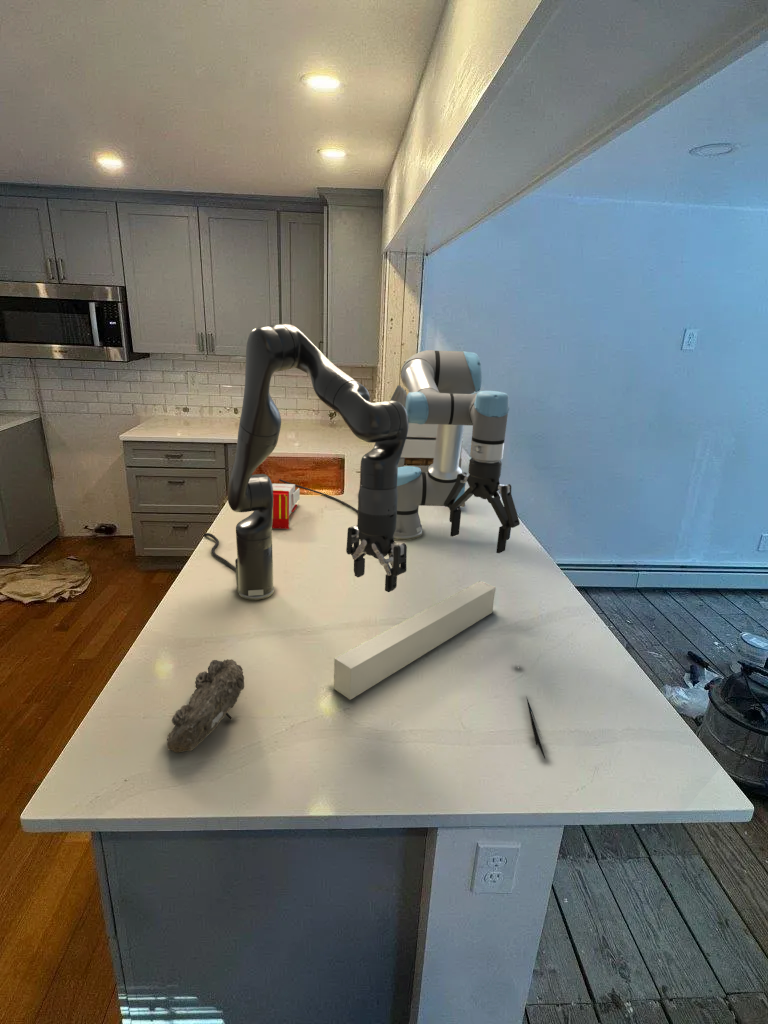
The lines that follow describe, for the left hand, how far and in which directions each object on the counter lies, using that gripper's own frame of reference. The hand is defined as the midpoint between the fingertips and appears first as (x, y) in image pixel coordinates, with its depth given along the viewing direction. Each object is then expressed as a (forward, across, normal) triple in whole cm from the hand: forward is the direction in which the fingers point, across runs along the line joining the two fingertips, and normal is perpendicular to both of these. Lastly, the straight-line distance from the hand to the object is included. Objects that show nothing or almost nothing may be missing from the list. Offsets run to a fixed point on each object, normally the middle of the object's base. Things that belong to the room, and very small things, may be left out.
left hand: (374, 583), depth 114 cm
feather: (+23, +29, +16) cm, 40 cm away
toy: (+23, -92, +46) cm, 106 cm away
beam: (+23, 0, +18) cm, 29 cm away
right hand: (+1, 0, +36) cm, 36 cm away
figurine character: (+23, -56, +105) cm, 121 cm away
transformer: (+23, -97, +132) cm, 166 cm away
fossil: (+23, -12, -30) cm, 40 cm away
